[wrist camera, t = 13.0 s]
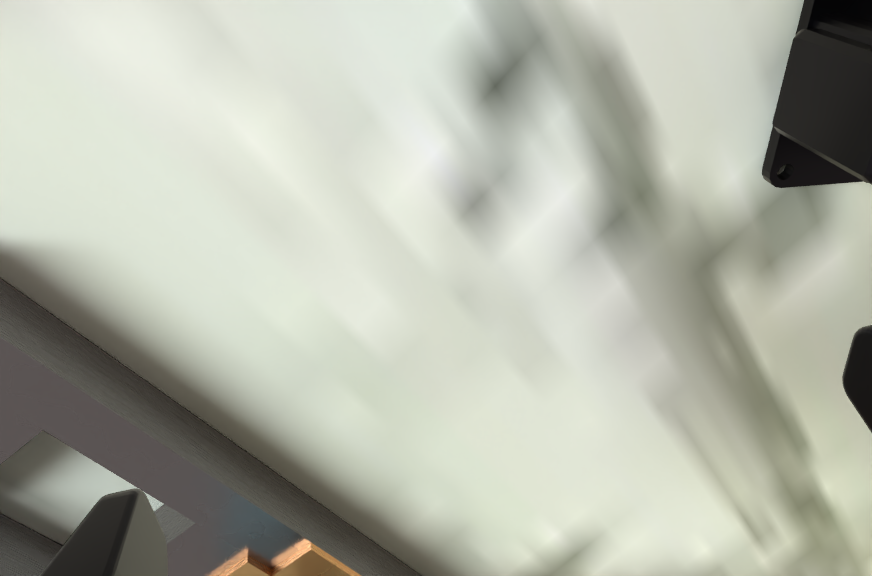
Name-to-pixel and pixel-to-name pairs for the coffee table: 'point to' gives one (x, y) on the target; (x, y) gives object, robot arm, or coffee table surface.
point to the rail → (160, 464)
